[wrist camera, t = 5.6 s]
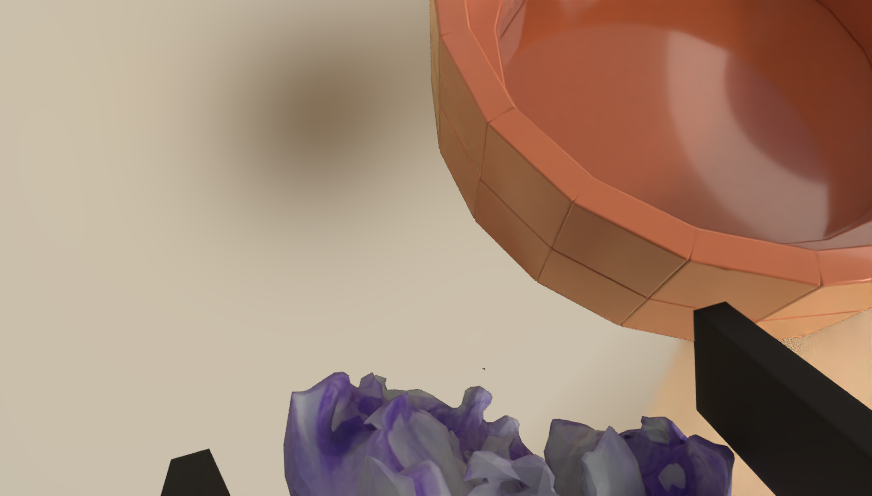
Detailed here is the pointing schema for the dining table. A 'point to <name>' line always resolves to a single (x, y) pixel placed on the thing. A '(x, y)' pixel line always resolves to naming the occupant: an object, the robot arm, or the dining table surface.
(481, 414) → the flower
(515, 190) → the pot
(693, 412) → the dining table surface
